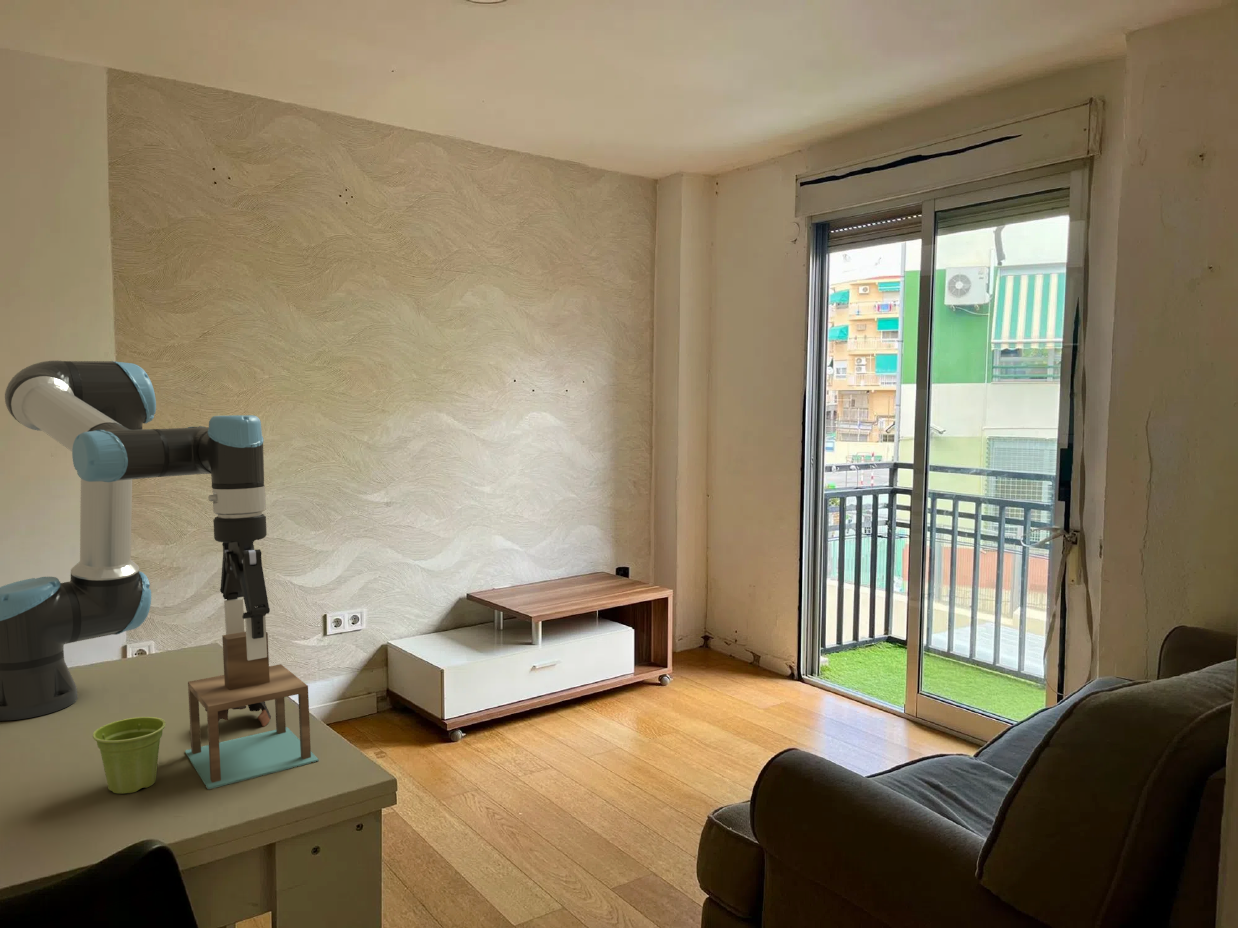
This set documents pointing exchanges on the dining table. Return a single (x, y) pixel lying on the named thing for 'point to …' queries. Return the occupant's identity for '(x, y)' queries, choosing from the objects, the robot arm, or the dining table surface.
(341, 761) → the dining table surface
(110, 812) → the dining table surface
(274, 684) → the brown piece
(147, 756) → the plant pot
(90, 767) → the dining table surface
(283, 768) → the teal mat
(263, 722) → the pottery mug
